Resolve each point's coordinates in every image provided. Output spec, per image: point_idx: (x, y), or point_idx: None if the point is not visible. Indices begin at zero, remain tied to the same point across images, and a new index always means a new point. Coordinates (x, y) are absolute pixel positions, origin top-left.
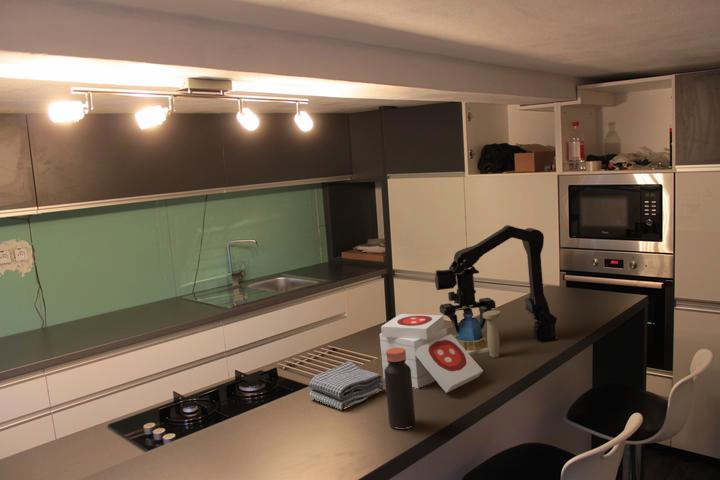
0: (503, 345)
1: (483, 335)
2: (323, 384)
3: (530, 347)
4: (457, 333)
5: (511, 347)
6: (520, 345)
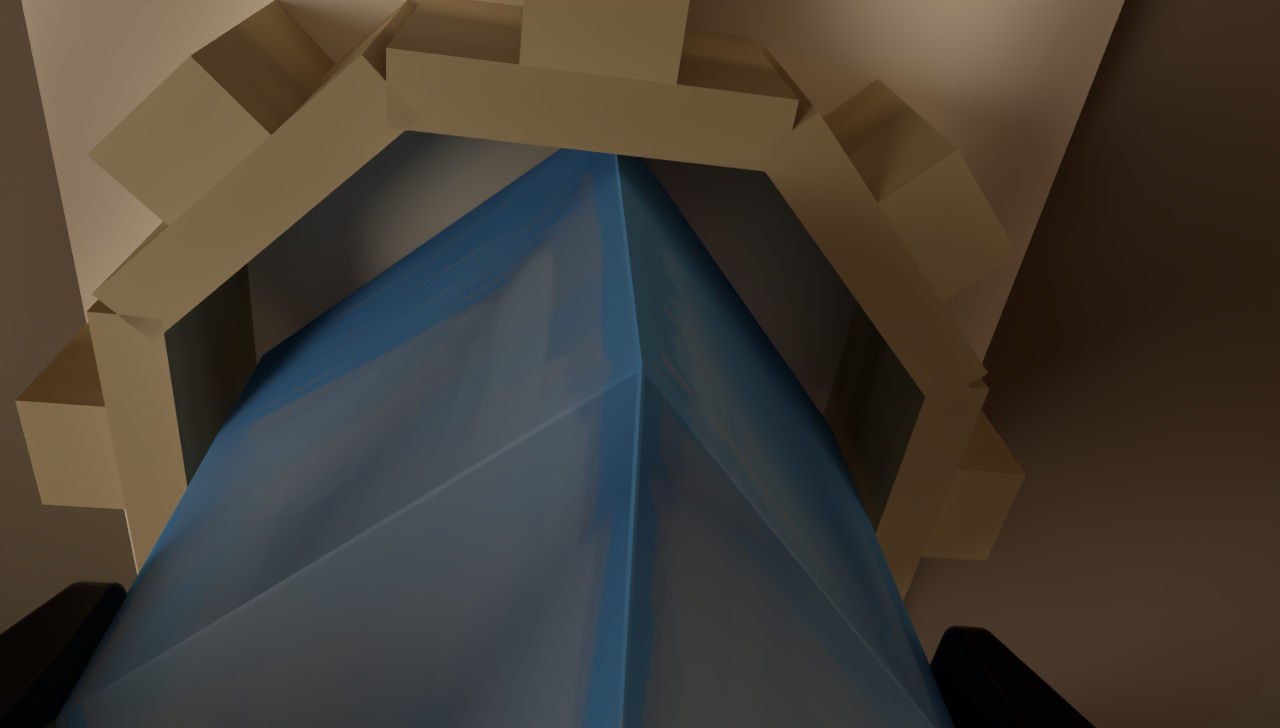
0: (1099, 501)
1: (884, 555)
2: None
3: (1264, 713)
4: (152, 554)
5: (1103, 618)
6: (1261, 608)
